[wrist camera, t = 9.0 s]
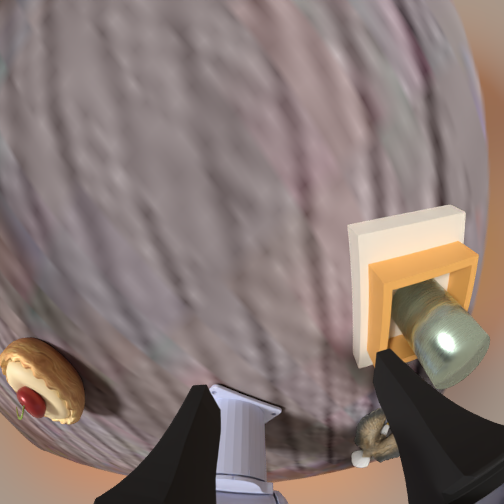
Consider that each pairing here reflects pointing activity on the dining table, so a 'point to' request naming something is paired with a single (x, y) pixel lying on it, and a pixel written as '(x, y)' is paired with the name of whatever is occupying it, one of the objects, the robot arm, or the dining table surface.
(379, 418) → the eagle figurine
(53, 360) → the pastry
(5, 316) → the dining table surface
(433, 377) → the green can
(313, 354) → the dining table surface
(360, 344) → the orange and cream box
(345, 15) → the dining table surface
